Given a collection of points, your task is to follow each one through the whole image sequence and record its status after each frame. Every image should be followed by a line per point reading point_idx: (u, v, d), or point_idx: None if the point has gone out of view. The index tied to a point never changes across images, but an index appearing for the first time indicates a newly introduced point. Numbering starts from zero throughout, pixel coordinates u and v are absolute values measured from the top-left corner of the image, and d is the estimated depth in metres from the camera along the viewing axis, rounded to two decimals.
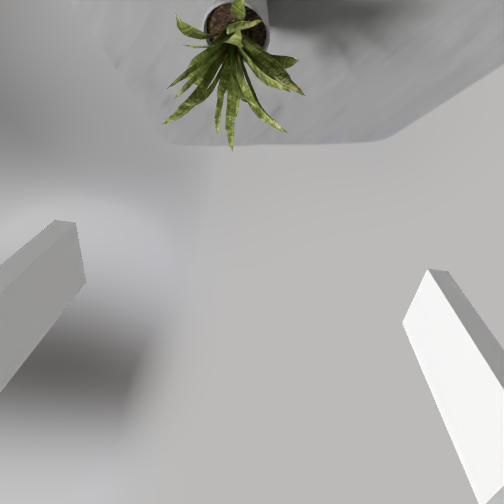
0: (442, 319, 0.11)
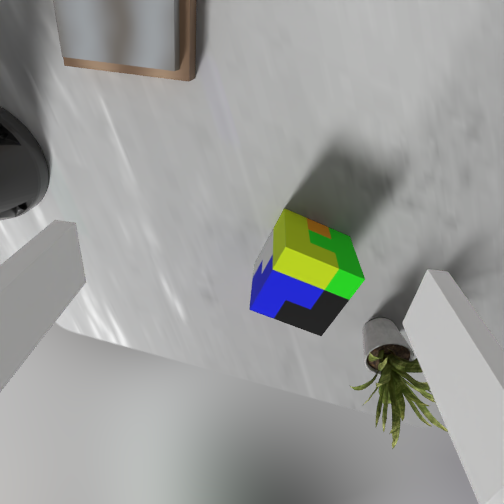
0: (441, 319, 0.11)
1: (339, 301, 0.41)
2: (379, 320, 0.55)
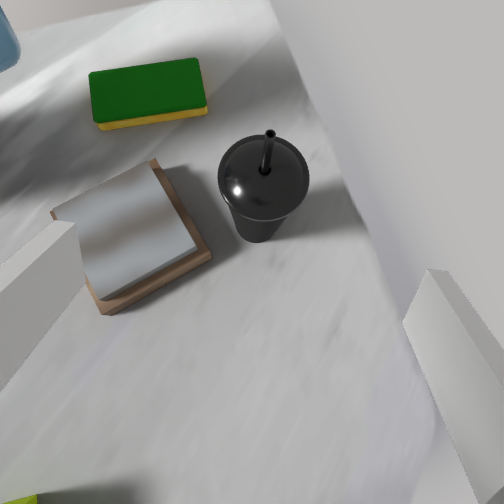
0: (442, 319, 0.11)
1: None
2: None
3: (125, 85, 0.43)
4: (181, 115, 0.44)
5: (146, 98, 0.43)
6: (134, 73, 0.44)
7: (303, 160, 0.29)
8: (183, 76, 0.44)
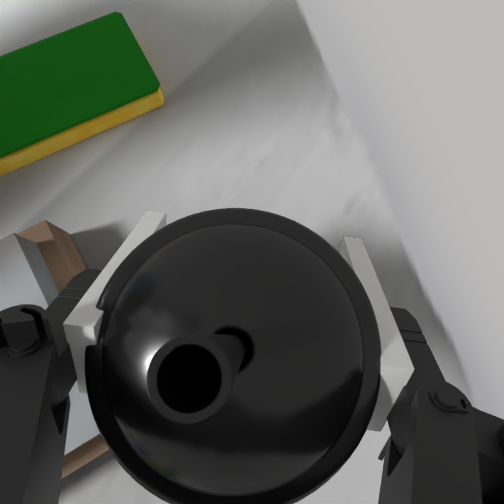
0: None
1: None
2: None
3: (3, 89, 0.23)
4: (121, 117, 0.25)
5: (49, 102, 0.23)
6: (14, 64, 0.24)
7: (360, 291, 0.09)
8: (104, 47, 0.24)
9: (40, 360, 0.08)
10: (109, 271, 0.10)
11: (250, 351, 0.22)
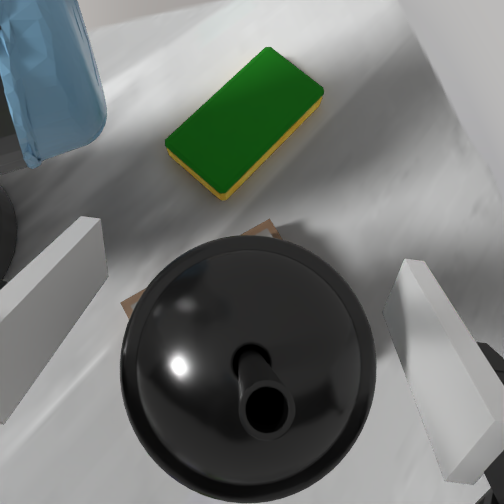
0: (416, 305, 0.12)
1: None
2: None
3: (219, 127, 0.31)
4: (300, 122, 0.33)
5: (256, 126, 0.31)
6: (216, 107, 0.31)
7: (358, 309, 0.11)
8: (273, 75, 0.32)
9: None
10: (13, 285, 0.09)
11: None
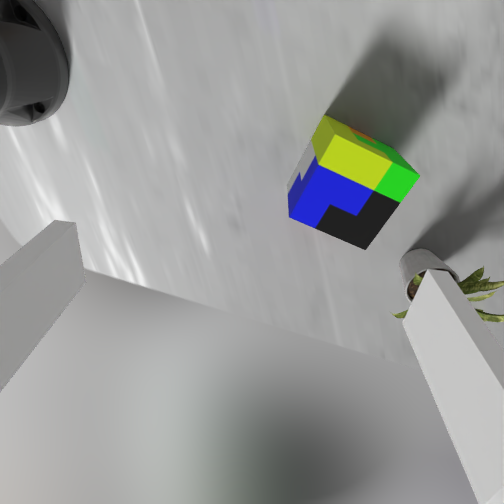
0: (442, 319, 0.11)
1: (388, 204, 0.38)
2: (419, 250, 0.51)
3: None
4: None
5: None
6: None
7: None
8: None
9: None
10: None
11: None
